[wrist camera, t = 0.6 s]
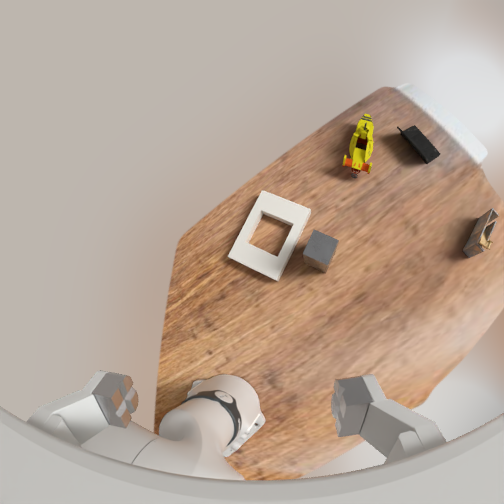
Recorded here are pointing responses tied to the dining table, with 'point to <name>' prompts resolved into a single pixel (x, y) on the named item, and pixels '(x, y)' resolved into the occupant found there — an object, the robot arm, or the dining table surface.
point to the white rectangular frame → (241, 248)
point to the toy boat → (358, 154)
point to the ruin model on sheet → (481, 234)
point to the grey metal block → (320, 251)
